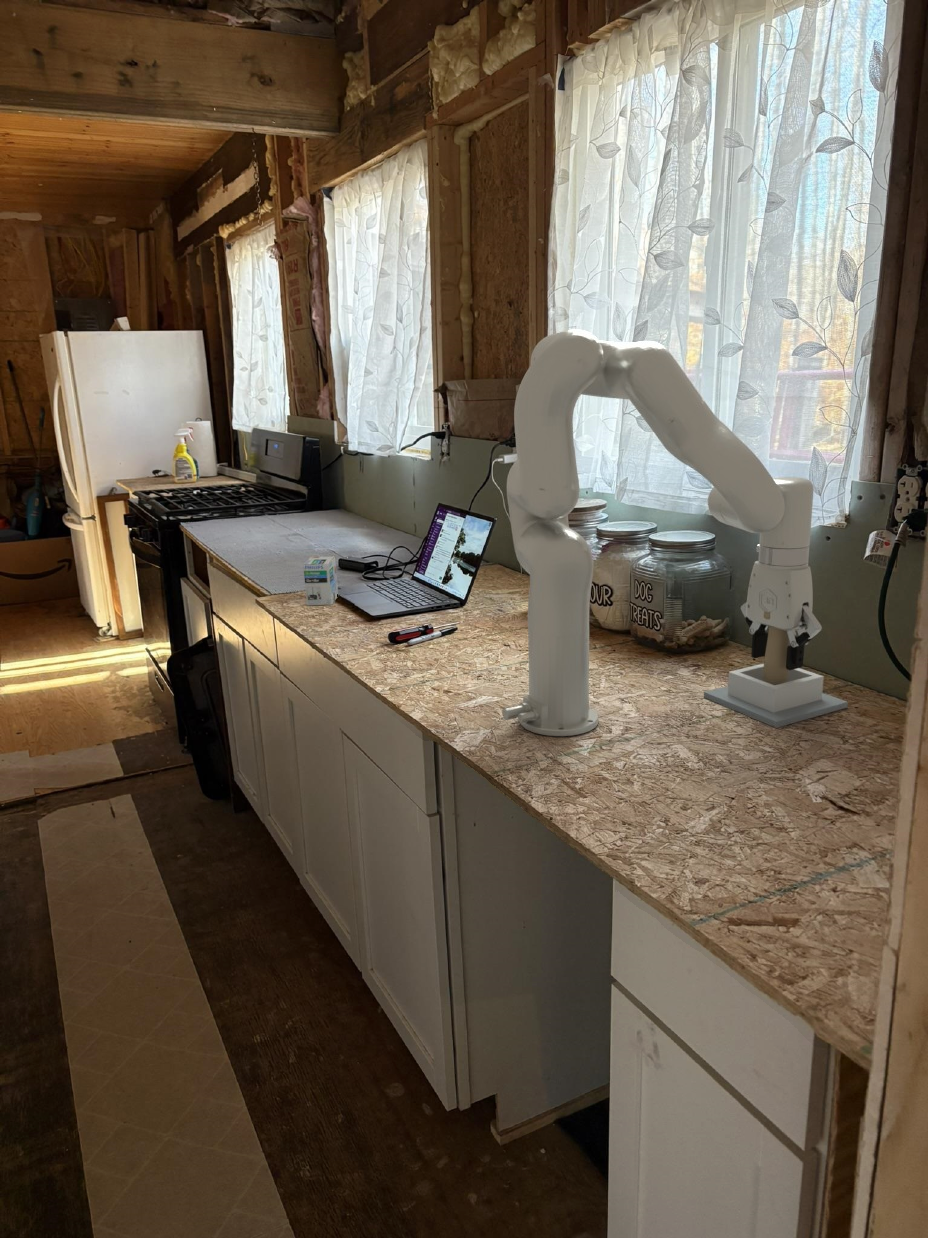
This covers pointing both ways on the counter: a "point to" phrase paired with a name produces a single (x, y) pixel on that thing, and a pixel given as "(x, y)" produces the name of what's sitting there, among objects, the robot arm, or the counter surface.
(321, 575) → the light bulb box
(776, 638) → the handle
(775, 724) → the socket plate
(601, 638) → the counter surface
